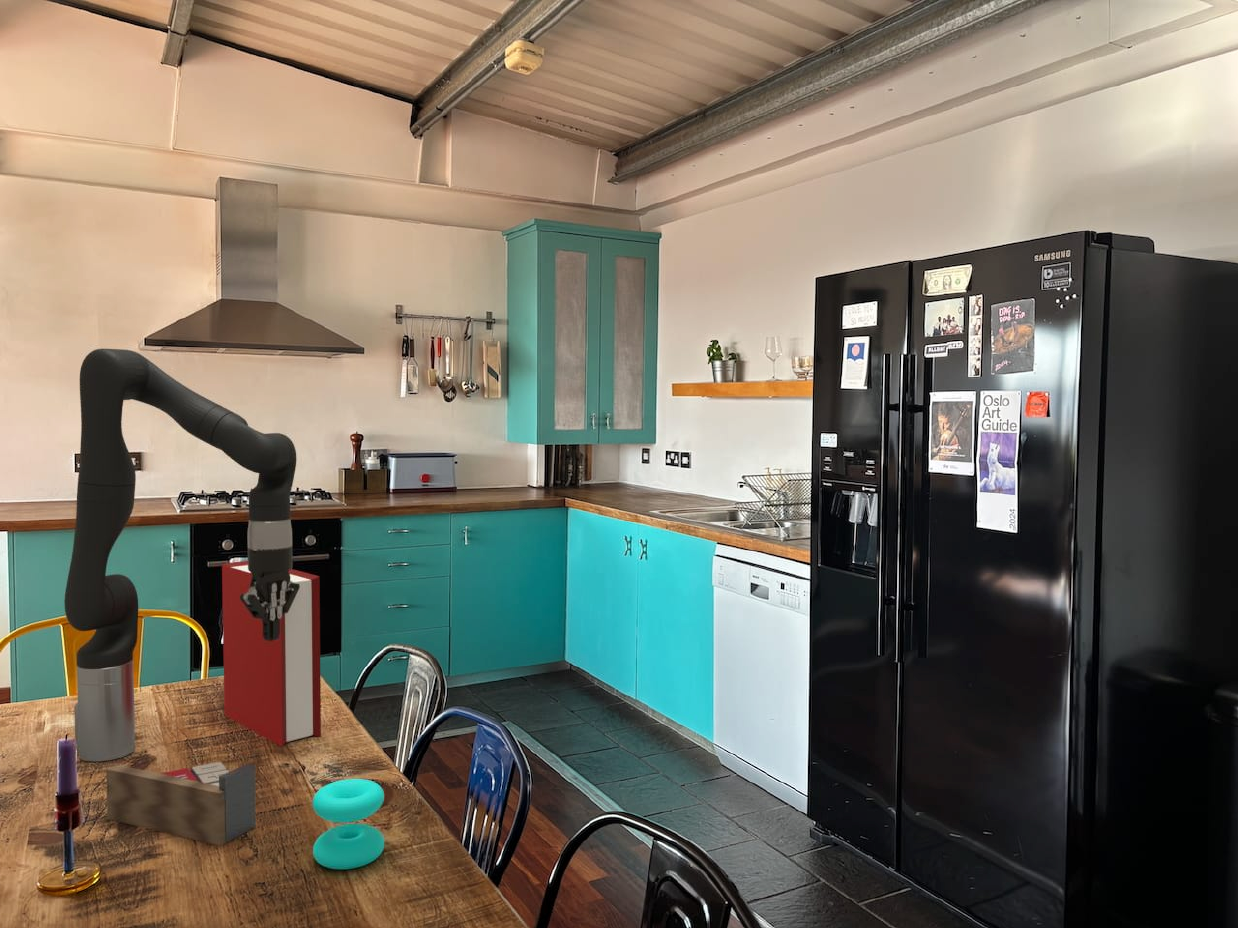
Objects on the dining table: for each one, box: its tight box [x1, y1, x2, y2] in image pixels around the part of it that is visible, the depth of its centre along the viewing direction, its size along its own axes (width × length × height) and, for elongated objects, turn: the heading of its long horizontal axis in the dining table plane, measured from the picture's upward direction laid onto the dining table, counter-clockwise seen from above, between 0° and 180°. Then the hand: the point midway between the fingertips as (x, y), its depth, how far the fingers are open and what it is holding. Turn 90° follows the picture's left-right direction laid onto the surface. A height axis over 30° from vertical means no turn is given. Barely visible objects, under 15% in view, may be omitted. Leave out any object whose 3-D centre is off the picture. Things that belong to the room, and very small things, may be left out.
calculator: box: [159, 761, 231, 786], centre depth 156 cm, size 11×4×15 cm
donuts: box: [312, 778, 385, 870], centre depth 136 cm, size 10×10×10 cm
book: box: [221, 560, 322, 748], centre depth 191 cm, size 27×8×32 cm, turn 46°
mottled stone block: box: [105, 764, 227, 847], centre depth 147 cm, size 23×7×8 cm, turn 68°
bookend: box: [219, 762, 257, 844], centre depth 143 cm, size 1×6×10 cm, turn 158°
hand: (271, 639), depth 170 cm, fingers closed
